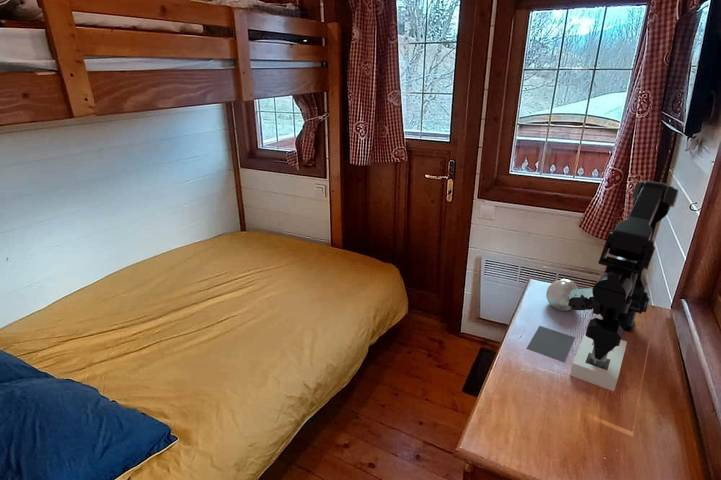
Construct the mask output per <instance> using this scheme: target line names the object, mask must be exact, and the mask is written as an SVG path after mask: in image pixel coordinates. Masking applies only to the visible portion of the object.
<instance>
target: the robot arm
mask: <svg viewBox="0 0 721 480" xmlns="http://www.w3.org/2000/svg"><path fill="white" fill-rule="evenodd" d="M678 194H679V190H678V189H677V188H674V186H671V185H669V184H666V183H665V182H659V181H658V182H657V181H651V180H642V181H641V182H636V183H635V186H634V188H633V192H632V195H631V200H632V201H634V203H633V206H632V208H631V210H630V212H629V214H628V217H627V219H624V220H621V221H619V222H617V224H616V226H615V227H614V229H613V230H612V231H609V233H608V235H607V237H606V240H605V244H604V246H603V249H602V252H601V255H600V257H599V260H598V265H602V266H605V270H604V272H603V273H602V274H601V275H600V276H599V278H598V280H596V283H595V284H594V286H593V287H592V288H589V287H587V288H578V289H573V290H571V292H570V294H569V296H568V297H569V303H568V305H569V306H570V307H571V310H570V311H588V310H589V311H591V310H592V314H595V315H600V316H601V317H602V319H601V318H599V317H594V318H592V319H589V321H588V325H587V326H586V329H587V330H585V332H586V334H585V333H584V334H585V335H586V336H587V337H588V338H591V339H593V341H594V352H595V358H596V359H599V360H601V359H602V358H603V357H604V356H605V355H606V354H607V353H609V352H610V351H611V350H612V349H613V348H615V347H616V346H619V344H620V341H621V340H622V336H623V333H624V331H625V332H628V333H633V331H634V327H635V324H636V321H635V318H636V314H637V313H638V314H640V315H641V314H642V313H646V312H647V310H648V306H649V302H650V298H649V295H648V294H649V293H648V292H647V291H646V290H647V287H648V282H647V279H646V276H645V275H644V272H645V270H648V269H649V267H650V263H651V261H652V258H653V255H654V253H655V250H656V246H655V245H654V244H655V243H654V237H655V234H656V231H657V226H658V224H659V222H660V221H661V220H662V219H664V218H666V216H667V215H668V214H669V211H670V210H671V207H672V208H674V207H675V204H676V202H677V198H678V196H679V195H678ZM607 254H609V255H610V256H607ZM611 256H614V257H611Z"/></svg>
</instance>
